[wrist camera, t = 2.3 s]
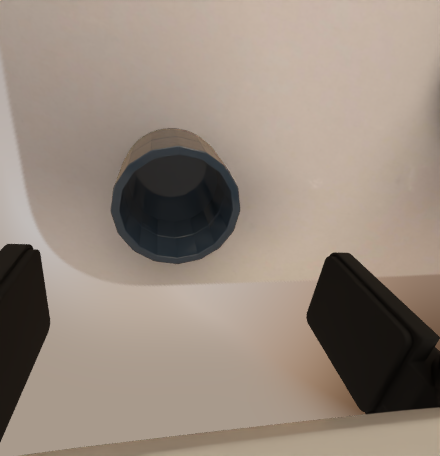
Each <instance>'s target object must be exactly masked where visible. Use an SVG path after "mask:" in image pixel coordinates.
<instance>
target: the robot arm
mask: <svg viewBox="0 0 440 456" xmlns="http://www.w3.org/2000/svg"><path fill="white" fill-rule="evenodd" d="M307 322H308V324H309V326H310V327H311V329H312V331H313V332H314V334H315V336H316V337H317V339H318V341H319V342H320V344H321V346H322V347H323V349H324V351H325V352H326V354H327V356H328V358H329V359H330V361H331V363H332V364H333V366H334V368H335V369H336V371H337V372H338V374H339V375H340V378H341V379H342V381H343V382H344V384H345V386H346V387H347V389H348V391H349V393H350V394H351V396H352V398H353V399H354V401H355V402H356V404H357V406H358V407H359V409H360V410H361V411H363V412H365V413H366V415H357V416H347V417H338V418H329V419H319V420H311V421H302V422H293V423H284V424H275V425H267V426H257V427H249V428H240V429H232V430H222V431H214V432H205V433H196V434H188V435H179V436H171V437H163V438H154V439H146V440H138V441H129V442H121V443H112V444H104V445H96V446H88V447H79V448H71V449H64V450H57V451H49V452H42V453H35V454H28V455H20V456H440V351H439V350H438V349H437V348H435V345H436V344H437V342H438V340H439V339H440V337H439V336H438V335H437V334H436V333H435V332H434V331H433V330H432V329H430V328H429V327H428V326H427V325H426V324H425V323H424V322H423V321H422V320H421V319H420V318H419V317H418V316H417V315H415V314H414V313H413V312H412V311H411V310H410V309H409V308H408V307H407V306H406V305H405V304H404V303H403V302H402V301H400V300H399V299H398V298H397V297H396V296H395V295H394V294H393V293H392V292H391V291H390V290H389V289H388V288H387V287H385V286H384V285H383V284H382V283H381V282H380V281H379V280H378V279H377V278H376V277H375V276H374V275H373V274H372V273H370V272H369V271H368V270H367V269H366V268H365V267H364V266H363V265H362V264H361V263H360V262H359V261H358V260H357V259H355V258H354V257H353V256H352V255H351V254H350V253H332V254H331V255H330V256H329V257H327V258H326V260H325V262H324V265H323V268H322V271H321V274H320V277H319V280H318V283H317V286H316V288H315V291H314V294H313V297H312V300H311V303H310V306H309V309H308V312H307ZM49 327H50V316H49V309H48V303H47V296H46V289H45V282H44V276H43V269H42V262H41V256H40V252H39V250H33V247H32V246H31V245H29V244H28V245H27V244H26V245H25V244H7V245H5V246H4V247H3V248H2V249H1V251H0V442H1V439H2V437H3V435H4V432H5V430H6V428H7V426H8V423H9V421H10V419H11V416H12V414H13V412H14V410H15V407H16V405H17V403H18V400H19V398H20V396H21V393H22V391H23V389H24V386H25V384H26V382H27V380H28V377H29V375H30V372H31V370H32V368H33V366H34V364H35V361H36V359H37V356H38V354H39V352H40V349H41V347H42V345H43V343H44V341H45V338H46V336H47V333H48V331H49Z"/></svg>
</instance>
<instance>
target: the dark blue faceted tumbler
mask: <svg viewBox="0 0 440 456" xmlns="http://www.w3.org/2000/svg"><path fill="white" fill-rule="evenodd" d="M239 212H240V201H239V191H238V186H237V185H236V183H235V181H234V179H233V178H232V176H231V174H230V172H229V171H228V169H227V167H226V166H225V164H224V163H223V162H222V160H221V159H220V158H219V156H218V155H217V153H216V152H215V151H214V149H213V148H212V147H211V146H210V145H209V144H208V143H207V142H206V141H204V140H203V139H202V138H201V137H199V136H197V135H196V134H194V133H192V132H189V131H186V130H182V129H175V128H167V129H160V130H156V131H153V132H151V133H149V134H147V135H145V136H143V137H142V138H141V139H139V140H138V141H137V142H136V143H135V144H134V145H133V146H132V148H131V149H130V150H129V152H128V154H127V156H126V158H125V159H124V161H123V164H122V166H121V169H120V172H119V174H118V177H117V180H116V182H115V185H114V188H113V196H112V204H111V214H112V217H113V220H114V223H115V226H116V229H117V232H118V233H119V235H120V236H121V237H122V238H123V239H124V241H125V242H126V243H127V244H128V245H129V246H130V247H131V248H132V249H133V250H134V251H135V252H137V253H139V254H141V255H143V256H145V257H147V258H149V259H151V260H153V261H157V262H165V263H173V264H180V263H185V262H190V261H195V260H199V259H202V258H203V257H205V256H207V255H208V254H210V253H212V252H213V251H215V250H217V249H219V248H220V247H221V245H222V244H223V243H224V242H225V241H226V239H227V238H228V237H229V236H230V235H231V233H232V232H233V231H234V228H235V225H236V222H237V219H238V216H239Z"/></svg>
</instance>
